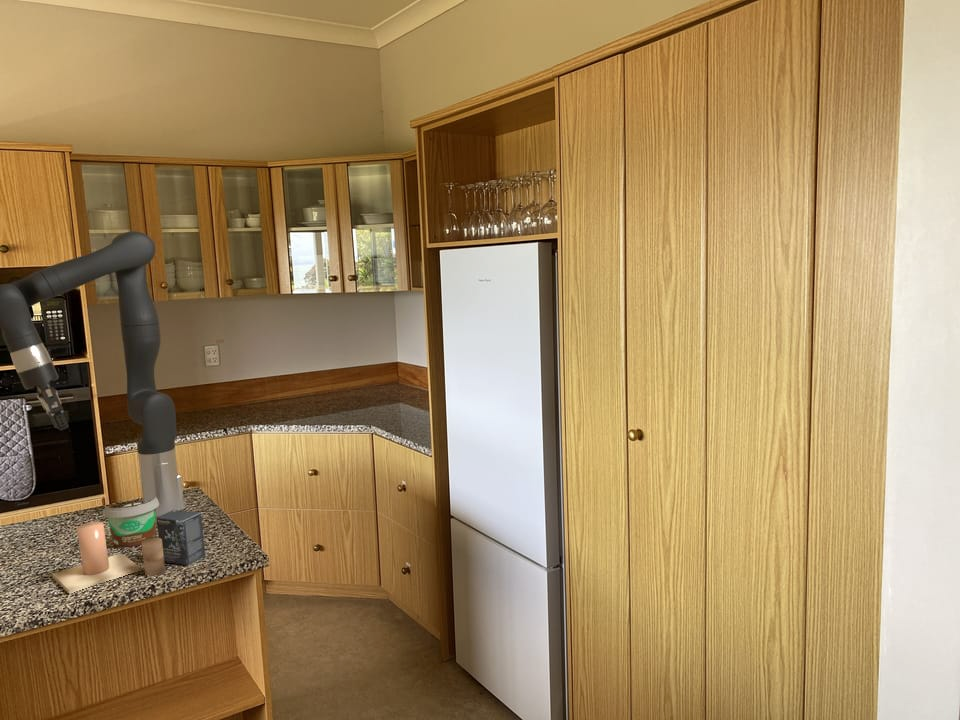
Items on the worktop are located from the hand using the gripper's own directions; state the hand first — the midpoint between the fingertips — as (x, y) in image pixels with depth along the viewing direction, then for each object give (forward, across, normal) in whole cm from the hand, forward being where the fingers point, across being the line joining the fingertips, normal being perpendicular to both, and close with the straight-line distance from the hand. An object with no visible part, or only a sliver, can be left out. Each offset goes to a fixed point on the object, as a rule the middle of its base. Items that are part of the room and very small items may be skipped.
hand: (62, 428), depth 174 cm
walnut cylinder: (+33, -34, -2) cm, 47 cm away
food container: (+31, -12, -3) cm, 34 cm away
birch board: (+30, -26, +7) cm, 40 cm away
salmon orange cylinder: (+29, -26, +7) cm, 39 cm away
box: (+34, -31, -9) cm, 47 cm away
